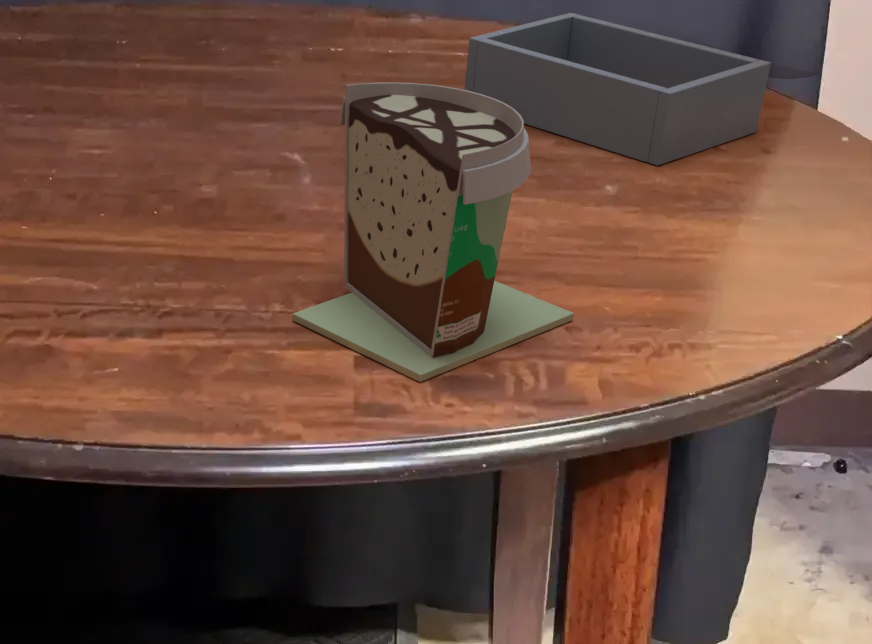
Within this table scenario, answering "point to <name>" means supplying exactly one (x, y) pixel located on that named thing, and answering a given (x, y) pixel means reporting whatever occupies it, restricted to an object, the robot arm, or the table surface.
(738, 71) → the box
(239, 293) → the table surface
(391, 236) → the food container
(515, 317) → the mat
